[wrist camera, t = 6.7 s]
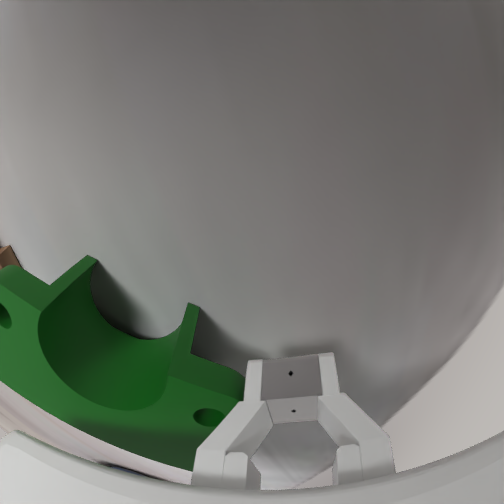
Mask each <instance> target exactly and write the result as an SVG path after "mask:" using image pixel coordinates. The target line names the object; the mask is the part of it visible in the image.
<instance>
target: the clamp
mask: <svg viewBox="0 0 504 504" xmlns="http://www.w3.org/2000/svg"><path fill="white" fill-rule="evenodd" d="M96 262H97V260H96V259H94V258H92V257H90V256H88V255H87V256H85V257H84V258H83V259H82V260H80V261H79V262H78V263H77V264H75V265H74V266H73V267H72V268H70V269H69V270H68V271H67V272H65V273H64V274H63V275H62V276H60V277H59V278H58V279H57V280H56V281H54V282H53V283H52V284H51V285H48V284H46V283H45V282H43V281H41V280H40V279H38V278H37V277H35V276H33V275H32V274H30V273H29V272H27V271H26V270H24V269H22V268H21V267H19V266H16V265H8V266H6V267H4V268H3V269H1V270H0V381H2V382H3V383H4V384H6V385H7V386H8V387H10V388H11V389H13V390H14V391H15V392H17V393H18V394H20V395H21V396H23V397H24V398H26V399H27V400H29V401H30V402H32V403H33V404H35V405H36V406H38V407H40V408H41V409H43V410H45V411H46V412H48V413H50V414H51V415H53V416H55V417H57V418H58V419H60V420H62V421H64V422H66V423H67V424H69V425H71V426H73V427H75V428H77V429H79V430H81V431H83V432H85V433H87V434H89V435H91V436H93V437H96V438H98V439H100V440H102V441H104V442H107V443H109V444H111V445H114V446H116V447H119V448H121V449H124V450H126V451H129V452H131V453H134V454H137V455H140V456H142V457H145V458H148V459H151V460H154V461H157V462H160V463H164V464H167V465H170V466H174V467H177V468H181V469H185V470H188V471H192V472H193V468H194V462H195V457H196V451H197V448H198V447H199V446H200V445H201V444H202V443H203V442H204V441H205V440H206V439H207V438H208V436H209V435H210V434H211V433H212V432H213V431H214V430H215V429H216V428H217V426H218V425H219V424H220V423H221V422H222V421H223V420H224V419H225V417H226V416H227V415H228V414H229V413H230V412H231V410H232V409H233V408H234V407H235V406H236V405H237V403H238V402H239V401H244V391H245V380H246V379H245V378H244V377H243V376H242V375H241V374H240V373H238V372H237V371H235V370H233V369H231V368H228V367H226V366H223V365H220V364H217V363H214V362H211V361H209V360H206V359H203V358H201V357H198V356H195V355H193V354H190V352H191V347H192V342H193V337H194V333H195V328H196V323H197V319H198V314H199V310H200V307H197V306H195V305H193V304H190V303H188V304H187V308H186V311H185V314H184V318H183V321H182V323H181V325H180V326H179V327H178V328H177V329H176V330H175V331H174V332H172V333H171V334H169V335H167V336H165V337H163V338H159V339H153V340H143V339H138V338H135V337H133V336H131V335H129V334H127V333H125V332H122V331H120V330H118V329H116V328H114V327H112V326H111V325H110V324H109V323H108V322H107V321H106V320H105V319H104V318H103V317H102V316H101V314H100V313H99V311H98V309H97V308H96V306H95V303H94V301H93V298H92V294H91V288H90V279H91V273H92V270H93V267H94V265H95V263H96Z"/></svg>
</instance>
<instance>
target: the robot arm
mask: <svg viewBox="0 0 504 504" xmlns="http://www.w3.org/2000/svg"><path fill="white" fill-rule="evenodd" d="M316 420H318V422H319V423H320V424H321V426H322V427H323V428H324V430H325V431H326V432H327V433H328V435H329V436H330V437H331V438H332V440H333V441H334V442H335V443H336V445H337V446H338V447H339V448H338V449H337V451H336V456H335V460H334V464H333V468H332V472H333V486H325V487H316V488H305V489H287V490H260V483H261V474H260V472H259V471H258V470H257V468H256V467H255V465H254V464H253V463H252V461H251V460H250V459H251V457H252V456H253V455H254V453H255V452H256V450H257V449H258V448H259V446H260V445H261V443H262V442H263V440H264V439H265V437H266V436H267V434H268V433H269V431H270V430H271V428H272V427H273V424H279V423H290V422H303V421H316ZM0 504H504V431H502V432H501V433H499V434H497V435H495V436H493V437H491V438H489V439H487V440H485V441H483V442H481V443H479V444H477V445H474V446H472V447H470V448H468V449H465V450H463V451H460V452H458V453H456V454H453V455H451V456H448V457H445V458H443V459H440V460H437V461H434V462H432V463H429V464H426V465H422V466H420V467H416V468H413V469H409V470H406V471H402V472H399V473H396V472H395V465H394V459H393V453H392V447H391V442H390V437H389V435H388V434H387V433H386V432H385V431H384V430H383V429H382V428H381V427H380V426H378V425H377V424H376V423H375V422H374V421H373V420H372V419H371V418H370V417H369V416H368V415H367V414H366V413H365V412H364V411H363V410H362V409H361V408H360V407H359V406H358V405H357V404H356V403H355V402H354V401H353V400H352V399H351V398H350V397H349V396H348V395H347V394H346V393H340V388H339V382H338V375H337V369H336V363H335V357H334V353H333V352H328V353H322V354H311V355H303V356H295V357H288V358H277V359H259V360H248V363H247V370H246V380H245V391H244V401H239V402H238V403H237V405H236V406H235V407H234V408H233V409H232V410H231V412H230V413H229V414H228V415H227V416H226V417H225V419H224V420H223V421H222V422H221V423H220V424H219V425H218V426H217V428H216V429H215V430H214V431H213V432H212V433H211V434H210V435H209V436H208V438H207V439H206V440H205V441H204V442H203V443H202V444H201V445H200V446H199V447H198V448H197V451H196V457H195V462H194V468H193V474H192V479H191V485H187V484H180V483H174V482H168V481H163V480H158V479H153V478H149V477H144V476H140V475H136V474H132V473H128V472H124V471H121V470H117V469H114V468H110V467H107V466H104V465H101V464H98V463H95V462H92V461H89V460H86V459H83V458H81V457H78V456H75V455H73V454H70V453H68V452H65V451H63V450H60V449H58V448H56V447H53V446H51V445H49V444H47V443H45V442H43V441H40V440H38V439H36V438H34V437H32V436H30V435H28V434H26V433H25V432H23V431H20V430H14V431H12V432H10V433H9V434H7V435H6V436H4V437H3V438H1V439H0Z"/></svg>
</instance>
